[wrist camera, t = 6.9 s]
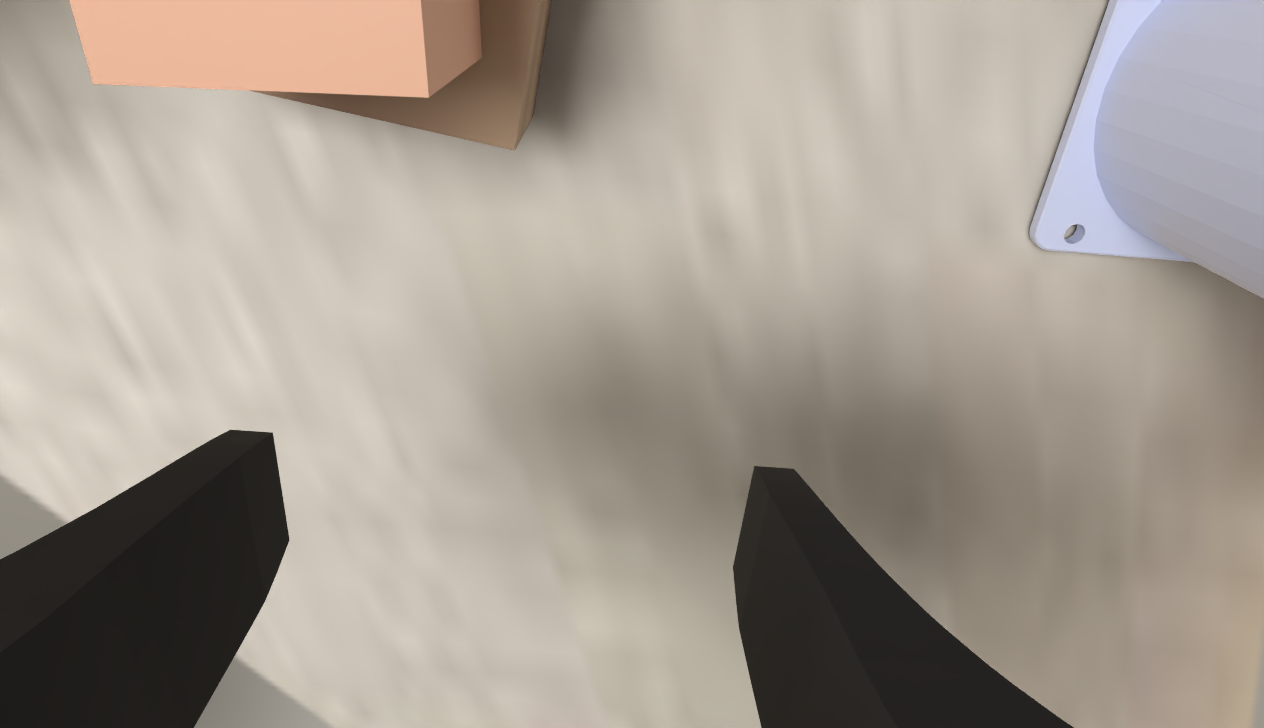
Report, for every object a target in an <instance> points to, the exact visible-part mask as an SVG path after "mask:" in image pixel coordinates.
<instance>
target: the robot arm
mask: <svg viewBox="0 0 1264 728" xmlns="http://www.w3.org/2000/svg"><path fill="white" fill-rule="evenodd" d="M1075 224H1077V229H1076V231H1075V233H1074V234H1073V235H1072V236H1071V237H1069V238H1066V239H1064V233H1065V232H1066V230H1067V229H1068V228H1069V227H1070V226H1072V225H1075ZM1029 234H1030V238H1031V240H1032V241H1033V242H1034V243H1035V244H1036V245H1037V246H1039V247H1040V248H1042V249H1045V250H1049V251H1061V252H1074V253H1086V254H1099V255H1111V256H1123V257H1136V258H1148V259H1161V260H1173V261H1185V262H1195V263H1197V264H1199V265H1200V266H1202V267H1204V268H1206V269H1208V270H1210V271H1212V272H1214V273H1216V274H1217V275H1219V276H1221V277H1223V278H1225V279H1227V280H1229V281H1231V282H1233V283H1234V284H1236V285H1238V286H1240V287H1242V288H1244V289H1246V290H1248V291H1250V292H1251V293H1253V294H1255V295H1257V296H1259V297H1261V298H1263V299H1264V0H1109V3H1108V6H1107V9H1106V12H1105V15H1104V18H1103V20H1102V23H1101V26H1100V29H1099V32H1098V35H1097V38H1096V40H1095V43H1094V46H1093V49H1092V52H1091V55H1090V58H1089V60H1088V63H1087V66H1086V69H1085V72H1084V75H1083V78H1082V80H1081V83H1080V86H1079V89H1078V92H1077V95H1076V98H1075V101H1074V103H1073V106H1072V109H1071V112H1070V115H1069V118H1068V121H1067V123H1066V126H1065V129H1064V132H1063V135H1062V138H1061V141H1060V143H1059V146H1058V149H1057V152H1056V155H1055V158H1054V161H1053V163H1052V166H1051V169H1050V172H1049V175H1048V178H1047V181H1046V183H1045V186H1044V189H1043V192H1042V195H1041V198H1040V201H1039V204H1038V206H1037V209H1036V212H1035V215H1034V218H1033V221H1032V224H1031V226H1030V233H1029ZM288 542H289V535H288V528H287V522H286V515H285V509H284V502H283V496H282V490H281V483H280V477H279V470H278V464H277V458H276V451H275V445H274V438H273V433H269V432H254V431H240V430H229V431H227V432H225V433H223V434H221V435H219V436H218V437H216V438H214V439H212V440H210V441H209V442H207V443H205V444H203V445H202V446H200V447H198V448H196V449H195V450H193V451H191V452H190V453H188V454H186V455H185V456H183V457H181V458H180V459H178V460H176V461H175V462H173V463H171V464H170V465H168V466H166V467H165V468H163V469H161V470H160V471H158V472H156V473H155V474H153V475H151V476H150V477H148V478H146V479H144V480H143V481H141V482H139V483H138V484H136V485H134V486H133V487H131V488H129V489H128V490H126V491H124V492H122V493H121V494H119V495H117V496H116V497H114V498H112V499H111V500H109V501H107V502H106V503H104V504H102V505H100V506H99V507H97V508H95V509H93V510H92V511H90V512H88V513H86V514H84V515H82V516H81V517H79V518H77V519H75V520H73V521H71V522H70V523H68V524H66V525H64V526H62V527H60V528H59V529H57V530H55V531H53V532H51V533H49V534H48V535H46V536H44V537H42V538H40V539H38V540H37V541H35V542H33V543H31V544H29V545H27V546H26V547H24V548H22V549H20V550H18V551H16V552H14V553H12V554H10V555H8V556H6V557H4V558H2V559H0V728H194V726H195V724H196V723H197V721H198V719H199V717H200V716H201V714H202V712H203V710H204V709H205V707H206V705H207V703H208V702H209V700H210V698H211V696H212V695H213V693H214V691H215V689H216V687H217V686H218V684H219V682H220V681H221V679H222V677H223V675H224V674H225V672H226V670H227V668H228V667H229V665H230V663H231V661H232V660H233V658H234V656H235V654H236V652H237V651H238V649H239V647H240V645H241V644H242V642H243V640H244V638H245V636H246V635H247V633H248V631H249V629H250V627H251V626H252V624H253V622H254V620H255V619H256V617H257V615H258V613H259V611H260V609H261V607H262V606H263V604H264V602H265V600H266V597H267V595H268V593H269V590H270V588H271V585H272V583H273V581H274V578H275V576H276V574H277V571H278V568H279V566H280V563H281V560H282V558H283V555H284V553H285V550H286V547H287V545H288ZM733 571H734V582H735V593H736V604H737V613H738V622H739V629H740V634H741V639H742V643H743V648H744V652H745V657H746V661H747V666H748V670H749V675H750V679H751V684H752V688H753V692H754V697H755V701H756V705H757V710H758V714H759V718H760V723H761V727H762V728H1073V727H1072V726H1070V725H1069V724H1067V723H1066V722H1065V721H1063V720H1062V719H1060V718H1059V717H1057V716H1056V715H1055V714H1053V713H1052V712H1050V711H1049V710H1048V709H1046V708H1045V707H1044V706H1042V705H1041V704H1039V703H1038V702H1037V701H1035V700H1034V699H1033V698H1031V697H1030V696H1028V695H1027V694H1026V693H1024V692H1023V691H1022V690H1020V689H1019V688H1018V687H1016V686H1015V685H1013V684H1012V683H1011V682H1009V681H1008V680H1007V679H1006V678H1004V677H1003V676H1002V675H1000V674H999V673H998V672H997V671H995V670H994V669H993V668H991V667H990V666H989V665H988V664H986V663H985V662H984V661H983V660H982V659H980V658H979V657H978V656H977V655H976V654H974V653H973V652H972V651H971V650H970V649H968V648H967V647H966V646H965V645H964V644H962V643H961V642H960V641H959V640H958V639H957V638H955V637H954V636H953V635H952V634H951V633H949V632H948V631H947V630H946V629H945V628H944V627H942V626H941V625H940V624H939V623H938V622H937V621H936V620H935V619H934V618H932V617H931V616H930V615H929V614H928V613H927V612H926V611H925V610H924V609H923V608H922V607H921V606H920V605H919V604H918V603H917V602H916V601H914V600H913V599H912V598H911V597H910V596H909V595H908V594H907V593H906V592H905V591H904V590H903V589H902V588H901V587H900V586H899V585H898V584H897V583H896V582H895V581H894V580H893V579H892V578H891V577H890V576H889V575H888V574H887V573H886V572H885V571H884V570H883V569H882V568H881V567H880V566H879V565H878V564H877V563H876V562H875V560H874V559H873V558H872V557H871V556H870V555H869V554H868V553H867V552H866V551H865V550H864V549H863V548H862V547H861V545H860V544H859V543H858V542H857V541H856V540H855V539H854V538H853V537H852V535H851V534H850V533H849V532H848V531H847V530H846V529H845V528H844V527H843V525H842V524H841V523H840V522H839V521H838V520H837V518H836V517H835V516H834V515H833V514H832V513H831V512H830V510H829V509H828V508H827V507H826V506H825V505H824V503H823V502H822V501H821V500H820V499H819V498H818V496H817V495H816V494H815V493H814V492H813V491H812V489H811V488H810V487H809V486H808V485H807V483H806V482H805V481H804V480H803V479H802V478H801V477H800V475H799V474H798V473H797V472H796V471H795V470H794V469H788V468H774V467H759V466H754V470H753V475H752V480H751V485H750V489H749V494H748V499H747V504H746V508H745V513H744V518H743V523H742V527H741V532H740V537H739V542H738V546H737V551H736V556H735V561H734V565H733Z"/></svg>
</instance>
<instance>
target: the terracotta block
mask: <svg viewBox="0 0 1264 728" xmlns="http://www.w3.org/2000/svg"><path fill="white" fill-rule="evenodd" d="M69 1H70V4H71V8H72V11H73V15H74V19H75V22H76V26H77V29H78V33H79V36H80V40H81V43H82V47H83V50H84V54H85V57H86V61H87V64H88V68H89V71H90V75H91V78H92V82H93V84H110V85H134V86H158V87H182V88H207V89H231V90H255V91H279V92H304V93H328V94H352V95H376V96H401V97H425V98H429V97H430V96H432V95H433V94H434V93H436V92H437V91H438V90H440V89H441V88H442V87H444V86H445V85H446V84H448V83H449V82H450V81H452V80H453V79H454V78H456V77H457V76H458V75H460V74H461V73H462V72H464V71H465V70H466V69H468V68H469V67H470V66H472V65H473V64H474V63H476V62H477V61H478V60H480V59H481V58H482V48H481V28H480V8H479V0H69Z"/></svg>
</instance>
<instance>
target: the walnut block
mask: <svg viewBox="0 0 1264 728" xmlns="http://www.w3.org/2000/svg"><path fill="white" fill-rule="evenodd" d="M551 1H552V0H479V8H480V28H481V48H482V58H481V59H480V60H478V61H477V62H476V63H474V64H473V65H472V66H470V67H469V68H468V69H466V70H465V71H464V72H462V73H461V74H460V75H458V76H457V77H456V78H454V79H453V80H452V81H450V82H449V83H448V84H446V85H445V86H444V87H442V88H441V89H440V90H438V91H437V92H436V93H434V94H433V95H432V96H430V97H429V98H425V97H401V96H376V95H352V94H328V93H304V92H279V91H255V90H249V91H254V92H258V93H262V94H267V95H271V96H276V97H280V98H285V99H289V100H294V101H298V102H302V103H307V104H311V105H316V106H320V107H325V108H329V109H333V110H338V111H342V112H347V113H351V114H356V115H360V116H365V117H369V118H373V119H378V120H382V121H387V122H391V123H396V124H400V125H405V126H409V127H413V128H418V129H422V130H427V131H431V132H436V133H440V134H445V135H449V136H453V137H458V138H462V139H467V140H471V141H476V142H480V143H485V144H489V145H493V146H498V147H502V148H507V149H511V150H515V149H516V147H517V145H518V143H519V141H520V139H521V137H522V136H523V134H524V132H525V130H526V128H527V126H528V124H529V122H530V120H531V119H532V117H533V112H534V106H535V100H536V94H537V88H538V81H539V75H540V69H541V63H542V57H543V50H544V44H545V38H546V32H547V26H548V20H549V13H550V7H551Z"/></svg>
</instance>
